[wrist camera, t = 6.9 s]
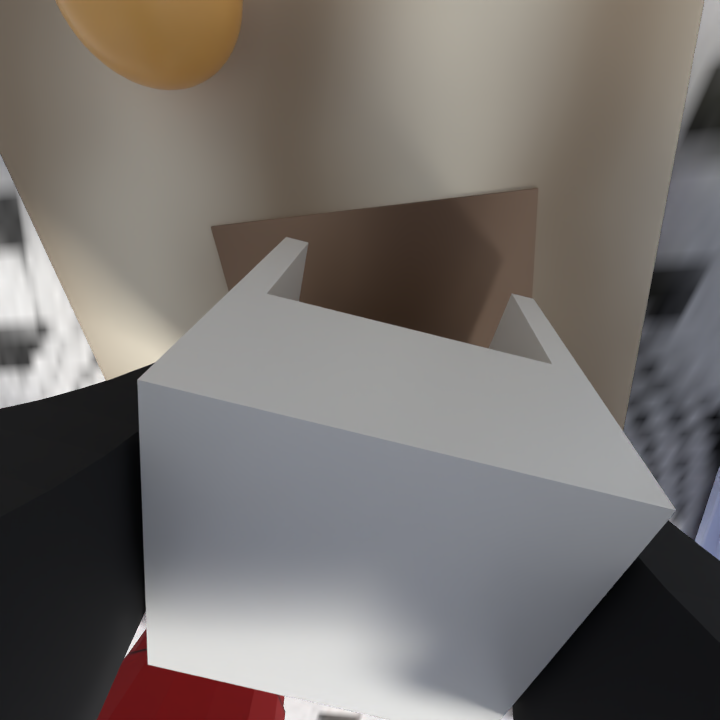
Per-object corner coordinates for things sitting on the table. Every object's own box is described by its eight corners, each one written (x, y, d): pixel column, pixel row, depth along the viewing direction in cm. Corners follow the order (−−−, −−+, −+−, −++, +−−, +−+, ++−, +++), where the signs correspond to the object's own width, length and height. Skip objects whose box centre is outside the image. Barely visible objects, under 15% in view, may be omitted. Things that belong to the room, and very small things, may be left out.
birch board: (752, -499, 6) (829, -636, 5) (600, 445, 14) (616, 473, 13) (-122, -222, 8) (-204, -274, 7) (170, 459, 16) (152, 484, 15)
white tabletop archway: (533, 298, 10) (676, 510, 4) (452, 479, 12) (482, 741, 7) (286, 237, 10) (137, 379, 4) (258, 433, 12) (147, 665, 7)
